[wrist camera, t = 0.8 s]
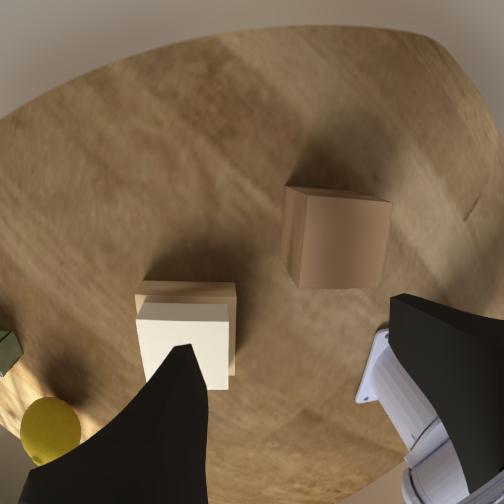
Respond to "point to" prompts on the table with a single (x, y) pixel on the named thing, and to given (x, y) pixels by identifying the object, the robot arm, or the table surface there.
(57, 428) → the lemon
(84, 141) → the table surface
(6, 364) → the medication box
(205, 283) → the oak base block
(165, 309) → the cream block
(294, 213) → the walnut block
